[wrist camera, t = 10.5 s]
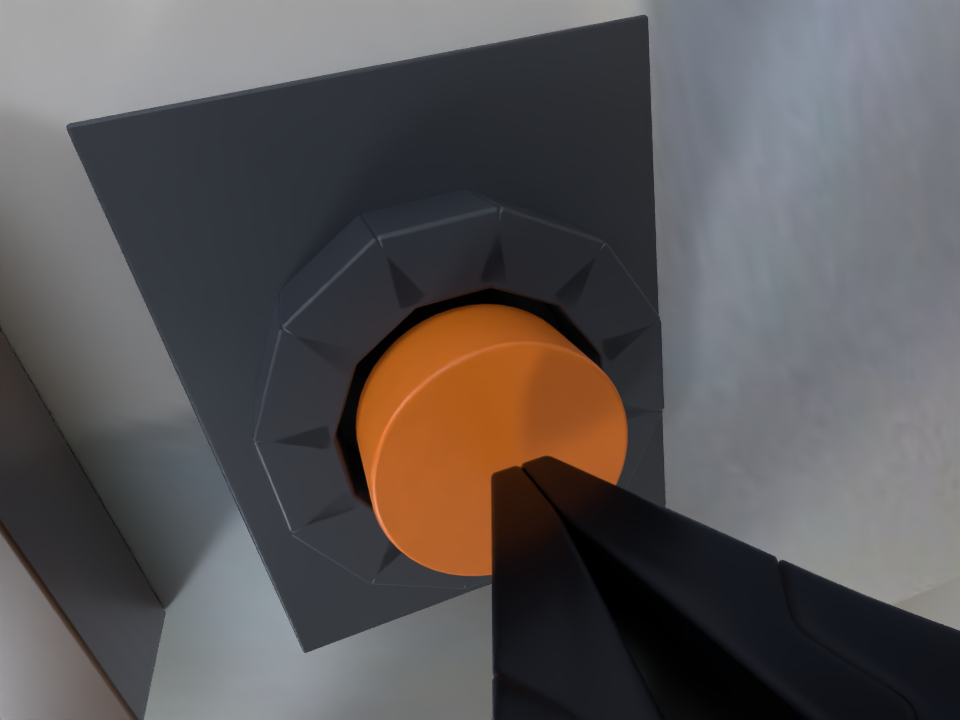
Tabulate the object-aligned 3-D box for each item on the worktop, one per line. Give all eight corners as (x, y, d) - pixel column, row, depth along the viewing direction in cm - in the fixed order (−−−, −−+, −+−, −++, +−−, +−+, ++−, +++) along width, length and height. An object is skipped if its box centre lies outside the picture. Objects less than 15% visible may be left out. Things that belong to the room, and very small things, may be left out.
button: (589, 469, 12) (636, 527, 10) (387, 539, 11) (406, 613, 9) (568, 274, 10) (621, 309, 8) (325, 341, 9) (335, 393, 8)
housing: (622, 469, 17) (712, 569, 13) (300, 582, 15) (308, 730, 12) (588, 25, 12) (719, 0, 8) (102, 117, 10) (12, 134, 7)
